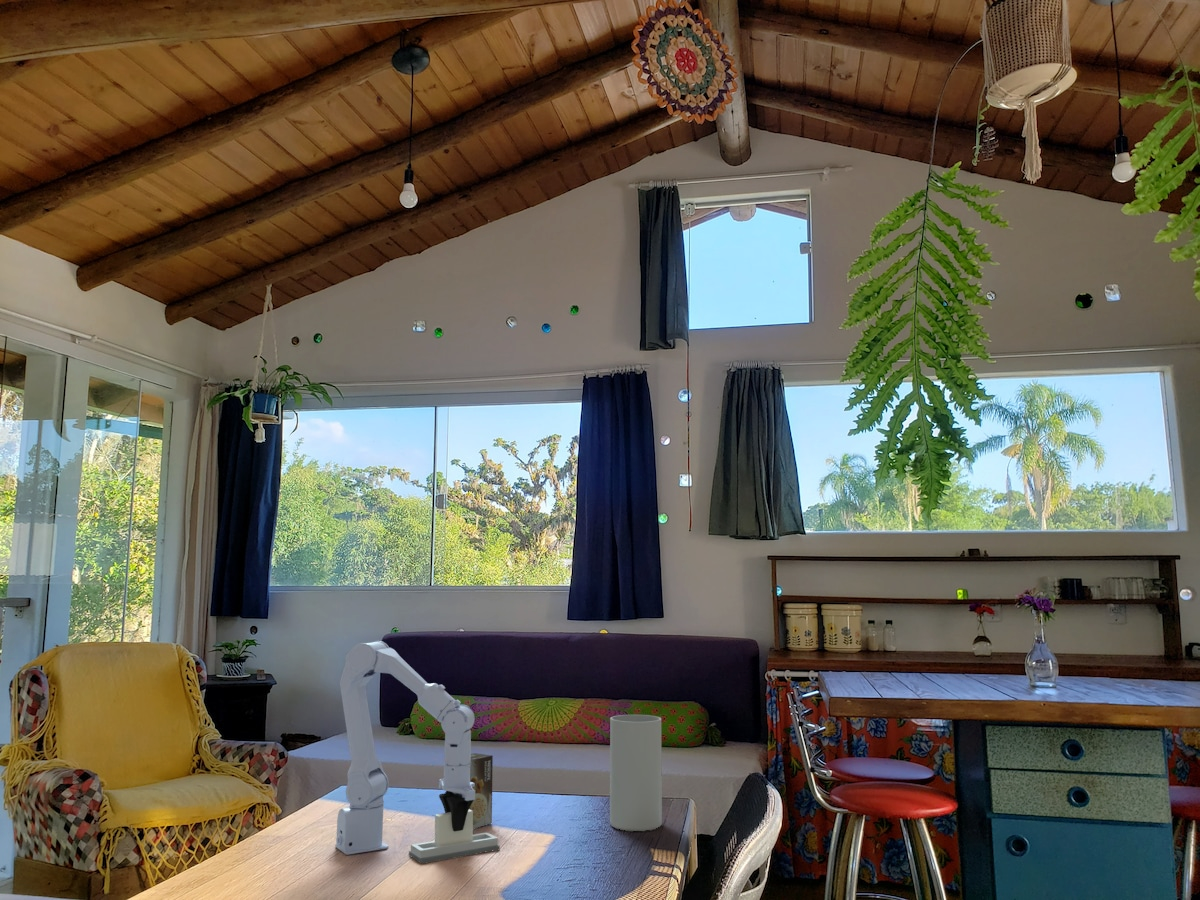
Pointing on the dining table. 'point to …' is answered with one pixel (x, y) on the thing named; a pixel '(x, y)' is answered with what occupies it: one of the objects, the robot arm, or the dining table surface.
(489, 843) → the track base
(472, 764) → the coffee box
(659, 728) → the cylinder vase
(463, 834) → the door panel
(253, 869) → the dining table surface
